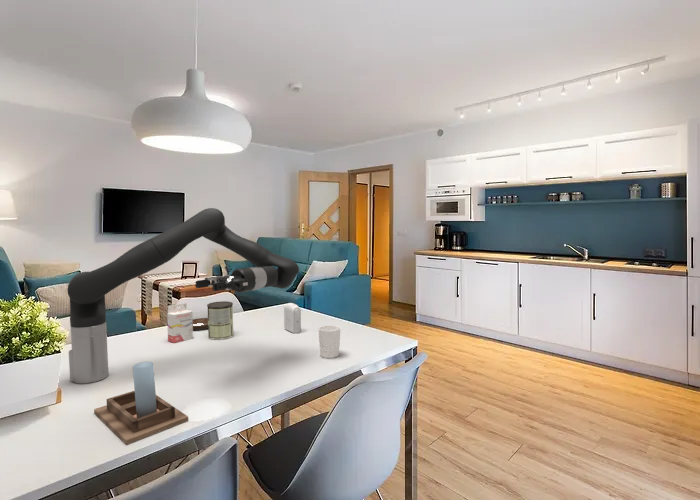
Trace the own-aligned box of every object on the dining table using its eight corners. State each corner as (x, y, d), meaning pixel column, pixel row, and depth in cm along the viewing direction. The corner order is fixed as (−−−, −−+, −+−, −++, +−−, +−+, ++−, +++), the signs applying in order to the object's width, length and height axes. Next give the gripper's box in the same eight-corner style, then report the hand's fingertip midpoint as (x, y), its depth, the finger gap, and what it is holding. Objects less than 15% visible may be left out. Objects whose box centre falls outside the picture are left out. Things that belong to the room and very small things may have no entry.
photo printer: (302, 332, 173) (302, 304, 172) (293, 334, 171) (293, 306, 170) (291, 327, 181) (291, 300, 181) (283, 329, 179) (282, 302, 178)
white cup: (344, 355, 144) (344, 328, 143) (329, 360, 138) (329, 332, 137) (329, 350, 149) (329, 324, 148) (314, 355, 143) (314, 328, 143)
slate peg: (132, 419, 95) (128, 367, 94) (147, 411, 99) (143, 360, 98) (146, 422, 93) (142, 369, 92) (161, 413, 97) (157, 362, 96)
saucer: (175, 329, 180) (175, 323, 180) (201, 321, 193) (201, 316, 193) (198, 333, 173) (198, 327, 173) (224, 325, 186) (223, 319, 186)
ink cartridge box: (173, 343, 158) (172, 307, 157) (167, 341, 161) (166, 305, 160) (193, 338, 165) (192, 303, 164) (187, 336, 168) (186, 302, 167)
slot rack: (94, 413, 101) (93, 399, 101) (151, 394, 111) (150, 382, 111) (126, 444, 86) (125, 429, 86) (188, 420, 97) (188, 406, 97)
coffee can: (203, 336, 168) (202, 303, 167) (226, 331, 175) (225, 300, 174) (215, 341, 160) (214, 307, 159) (238, 336, 168) (237, 303, 167)
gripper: (234, 266, 132) (190, 271, 119) (263, 269, 123) (219, 275, 110) (235, 288, 132) (191, 296, 119) (264, 293, 124) (219, 301, 111)
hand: (204, 286), depth 115 cm, fingers open, 8 cm apart
